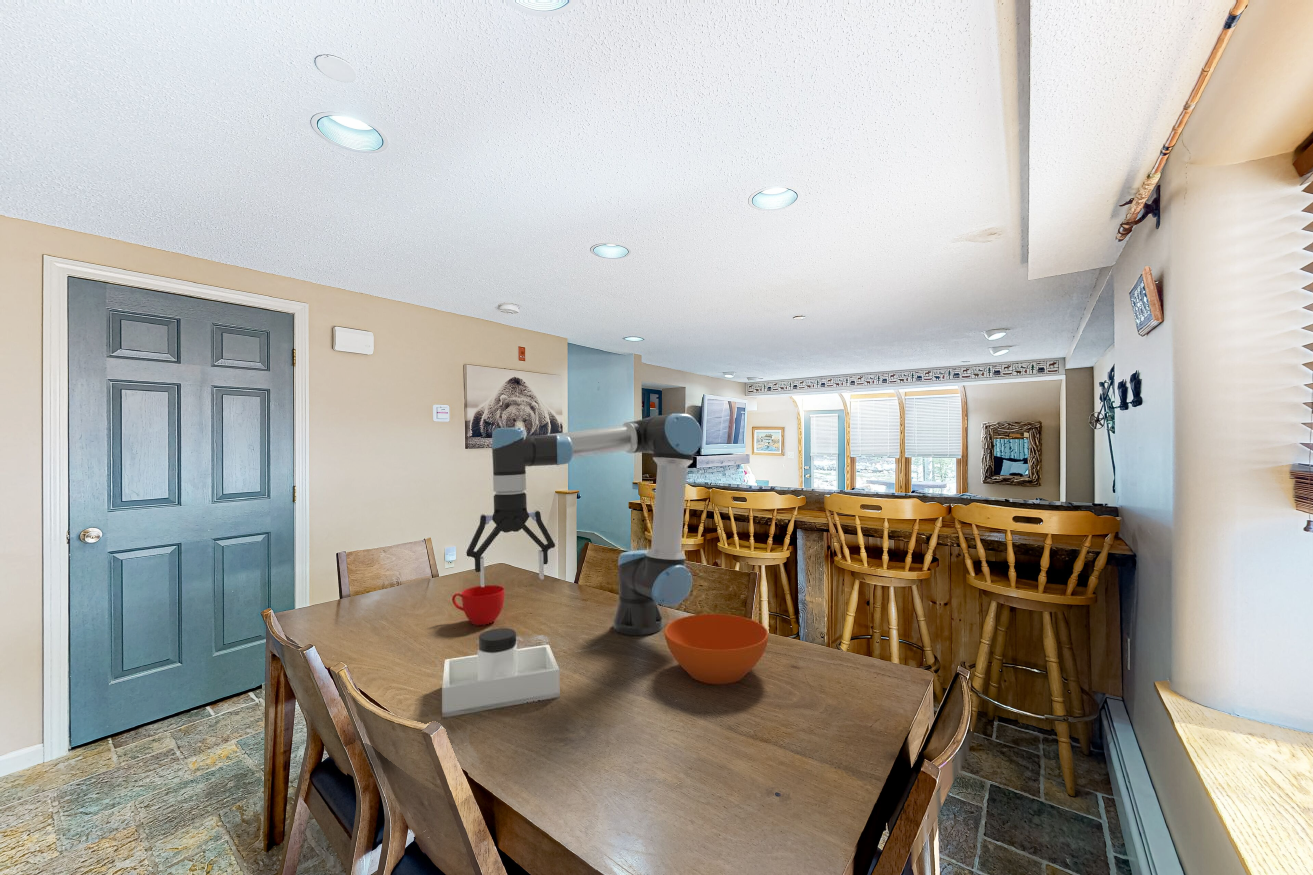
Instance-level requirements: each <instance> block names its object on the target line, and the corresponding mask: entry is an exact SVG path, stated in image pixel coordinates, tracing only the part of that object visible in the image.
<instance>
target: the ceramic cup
mask: <svg viewBox="0 0 1313 875" xmlns="http://www.w3.org/2000/svg"><path fill="white" fill-rule="evenodd" d="M457 596H458V597H460V598H461V604H462V606H461V605H459V604H458V602H457V600H456V597H457ZM451 600H452V604H453V605H454V607H456V608H457V609H458V610H460V611H463V612H464V615H465V616H466V618H467V620H468V621H469V622H471V623H472V625H473V624H474V625H473V626H478V625H482V626H487V625H486V624H488V625H490V624H489V623H491V624H493V623H494V622H495V621H496V620H497V618H498V617H499V616H500V614H501V612H502V610H503V607H504V601H505V588H504V587H503V586H500V585H493V584H490V585H489V584H488V585H485V587H481V585H478V586H472V587H469V588H466V589H464V590H463V591H462V592H461V593H459V592H458V593H457V592H456V593H455V594H454V595H452V598H451ZM492 622H493V623H492Z"/></svg>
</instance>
